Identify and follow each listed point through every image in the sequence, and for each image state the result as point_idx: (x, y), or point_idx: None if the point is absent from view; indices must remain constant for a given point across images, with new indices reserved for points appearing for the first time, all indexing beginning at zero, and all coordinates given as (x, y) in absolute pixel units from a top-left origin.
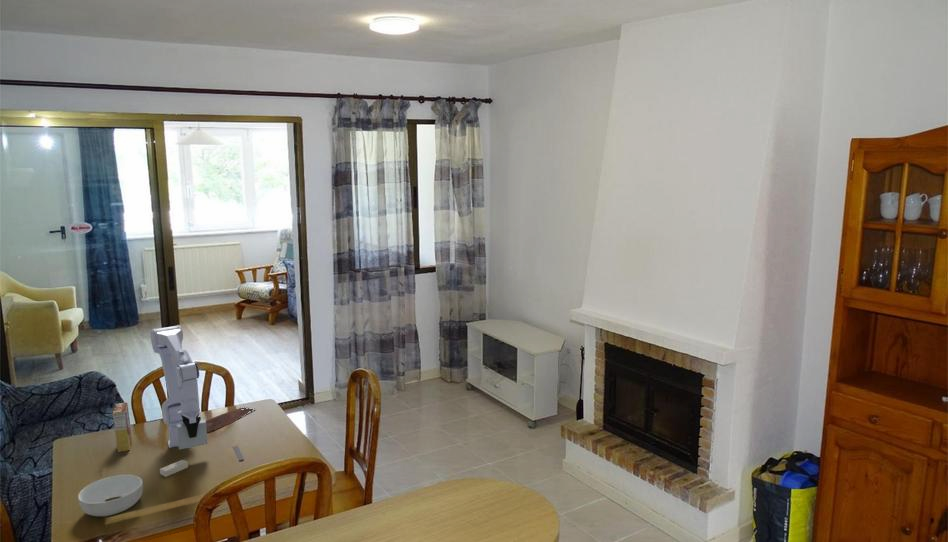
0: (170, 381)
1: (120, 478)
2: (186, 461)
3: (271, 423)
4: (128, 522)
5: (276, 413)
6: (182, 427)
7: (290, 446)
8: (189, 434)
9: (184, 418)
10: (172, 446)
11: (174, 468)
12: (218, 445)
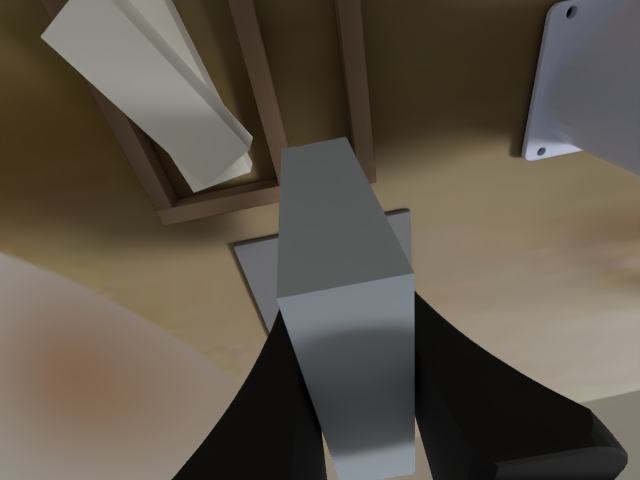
0: None
1: None
2: (210, 179)
3: (548, 387)
4: None
5: (618, 392)
6: (293, 337)
7: None
8: (281, 313)
9: (452, 437)
10: (597, 22)
11: (122, 105)
12: (469, 262)
